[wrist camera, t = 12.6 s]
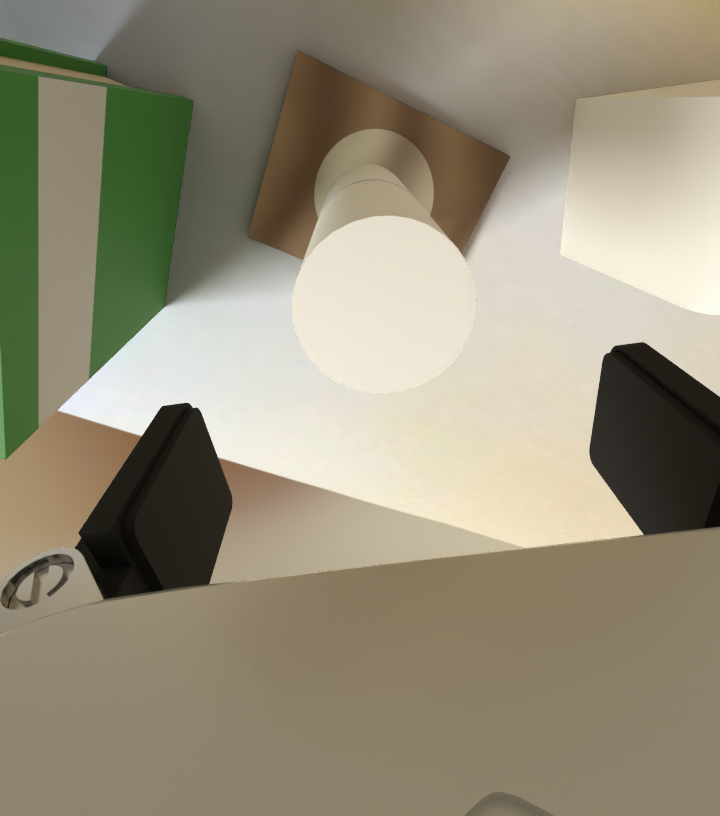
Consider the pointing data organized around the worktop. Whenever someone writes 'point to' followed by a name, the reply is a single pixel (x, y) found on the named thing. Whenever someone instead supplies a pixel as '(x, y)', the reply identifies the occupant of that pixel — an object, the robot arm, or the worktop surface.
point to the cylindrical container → (381, 287)
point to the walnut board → (365, 157)
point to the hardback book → (78, 224)
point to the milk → (649, 191)
